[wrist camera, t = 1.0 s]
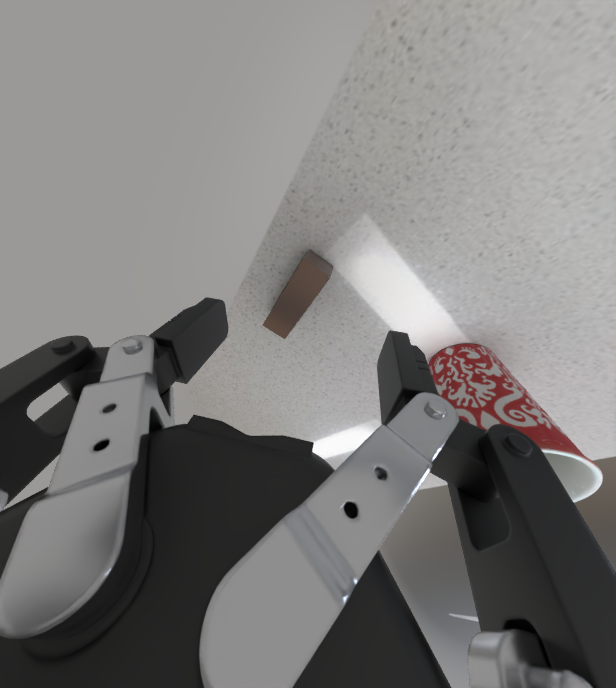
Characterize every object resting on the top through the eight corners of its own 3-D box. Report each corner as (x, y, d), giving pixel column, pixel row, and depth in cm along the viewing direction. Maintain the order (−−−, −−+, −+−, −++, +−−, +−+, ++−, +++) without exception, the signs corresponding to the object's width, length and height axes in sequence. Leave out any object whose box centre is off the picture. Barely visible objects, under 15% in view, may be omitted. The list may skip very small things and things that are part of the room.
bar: (309, 248, 23) (302, 258, 20) (333, 266, 23) (329, 277, 21) (271, 311, 28) (262, 325, 25) (292, 324, 29) (284, 339, 26)
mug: (405, 356, 28) (432, 464, 18) (489, 322, 24) (593, 439, 13) (446, 414, 33) (486, 528, 22) (522, 395, 28) (619, 525, 18)
